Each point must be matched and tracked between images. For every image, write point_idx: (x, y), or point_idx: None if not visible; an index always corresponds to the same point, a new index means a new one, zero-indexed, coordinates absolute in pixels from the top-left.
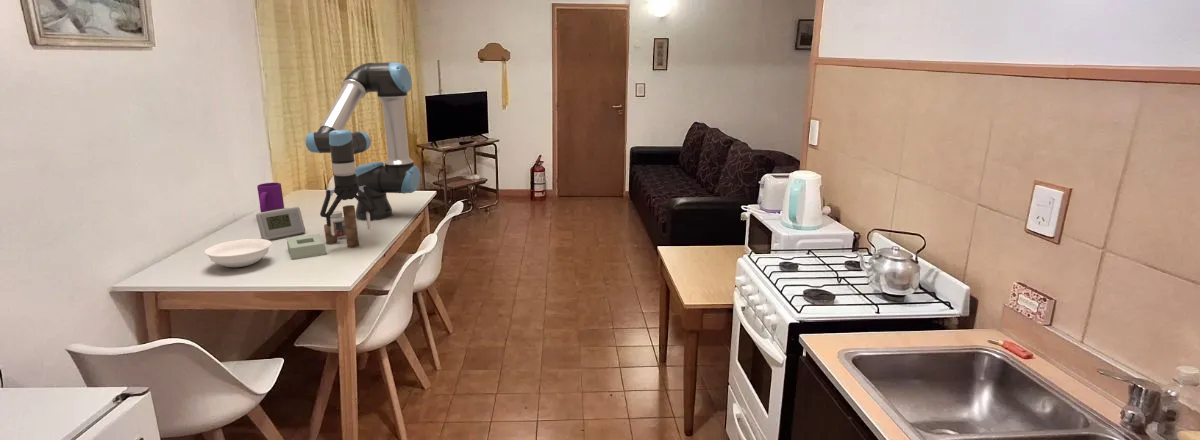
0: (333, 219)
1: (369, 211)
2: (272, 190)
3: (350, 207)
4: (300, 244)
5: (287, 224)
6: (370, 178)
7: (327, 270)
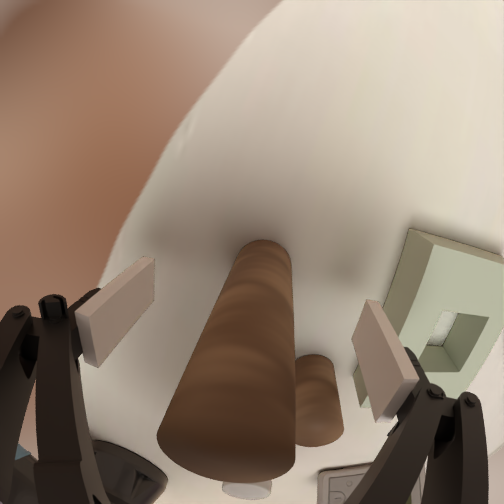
0: None
1: (65, 321)
2: None
3: (217, 418)
4: (489, 303)
5: None
6: None
7: (453, 21)
